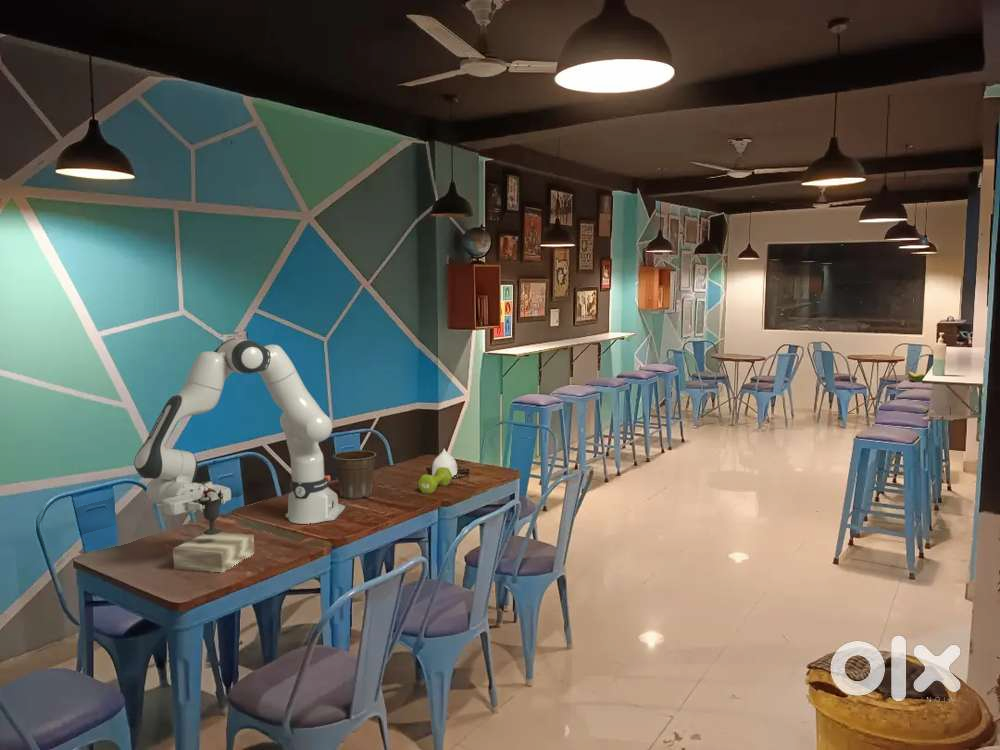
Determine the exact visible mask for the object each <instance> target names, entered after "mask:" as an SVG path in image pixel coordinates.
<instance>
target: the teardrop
mask: <svg viewBox="0 0 1000 750" xmlns="http://www.w3.org/2000/svg"><path fill="white" fill-rule="evenodd" d="M455 459H456V458H454V457H453V455H452V454H450V453H448V451H446V449H445V448H443V450H442V452H440V454H438V455H437V456H436V457H435V458H434V460H433V462H432V465H431V466H432V467H431V475H433V476H434V474H435V472H436V470H437V469H438V468H440V467H444V468H448V469H449V470H450V472H451V474H452V477H453V476H454V475H456V474H457V472H458V464H457V461H456V460H455Z"/></svg>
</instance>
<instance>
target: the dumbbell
mask: <svg viewBox="0 0 1000 750" xmlns="http://www.w3.org/2000/svg"><path fill="white" fill-rule="evenodd" d="M452 480H453V478H452V474H451V472H450V470H449V469H448V468H444V467H440V468H438V469H437V470H436V472H435V474H434V476H433V475H432V474H423V475H422V476H420V478H419V480H418V483H417V485H418V488H419V490H420V491H421V493H422V494H423V493H424V494H428V495H429V494H433V493H434V492H436V491H435V490H436V489H437V487H438V486H442V487H443V486H444V487H445V486H446V487H447V486H448V485H450V484H451V482H452Z"/></svg>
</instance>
